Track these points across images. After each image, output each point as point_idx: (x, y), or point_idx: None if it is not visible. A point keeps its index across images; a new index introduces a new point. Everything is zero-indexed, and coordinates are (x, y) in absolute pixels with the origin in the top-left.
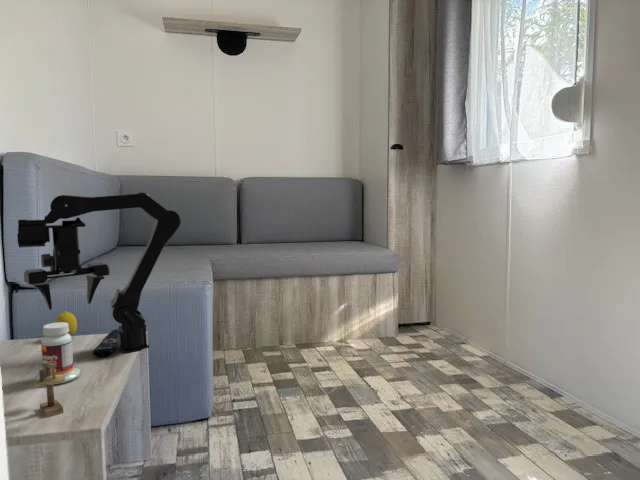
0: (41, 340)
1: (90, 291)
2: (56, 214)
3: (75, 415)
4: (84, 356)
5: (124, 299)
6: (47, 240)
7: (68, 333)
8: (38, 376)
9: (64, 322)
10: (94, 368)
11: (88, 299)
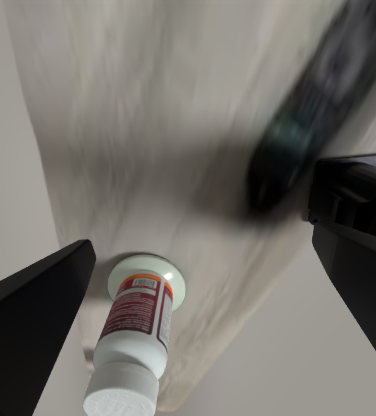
0: (93, 361)
1: (373, 339)
2: None
3: None
4: (219, 182)
5: None
6: None
7: None
8: (112, 283)
9: (145, 400)
10: (216, 270)
11: (326, 258)
